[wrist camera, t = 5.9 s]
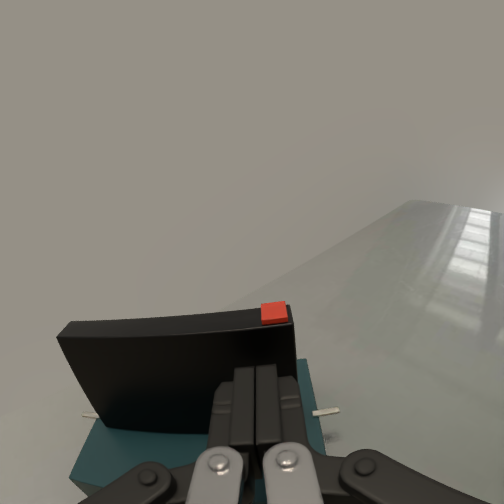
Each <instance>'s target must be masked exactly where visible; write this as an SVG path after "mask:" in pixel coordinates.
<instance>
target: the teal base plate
mask: <svg viewBox="0 0 504 504" xmlns="http://www.w3.org/2000/svg"><path fill="white" fill-rule="evenodd" d="M297 372H298V384H299V387H300V393H301V399H302V406H303V411H304V418H305V424H306V431H307V437H308V442H309V444H310V445H311V447H312V448H313V449H314V450H315V451H317V452H318V453H321V454H323V455H326V452H325V447H324V441H323V436H322V431H321V426H320V421H319V417H320V416H326V415H331V414H337V413H339V408H338V407H334V408H328V409H322V410H317V407H316V402H315V397H314V392H313V387H312V383H311V378H310V373H309V369H308V364H307V360H306V359H298V360H297ZM81 416H82V417H86V418H93V419H96V421H95V423H94V425H93V427H92V429H91V431H90V433H89V435H88V437H87V439H86V442H85V444H84V446H83V448H82V450H81V452H80V454H79V456H78V459H77V461H76V463H75V465H74V467H73V469H72V472H71V474H70V476H69V479H70V480H71V481H72V482H73V483H74V484H75V485H76V486H77V487H79V488H80V489H81V490H82V491H83V492H84V493H85V494H86V495H87V496H88V497H89V496H91V495H92V494H94V493H96V492H97V491H99V490H100V489H102V488H103V487H105V486H107V485H108V484H110V483H111V482H113V481H114V480H116V479H117V478H119V477H120V476H122V475H123V474H125V473H126V472H128V471H129V470H130V469H132V468H133V467H135V466H136V465H138V464H140V463H143V462H147V461H154V462H159V463H161V464H163V465H164V466H166V467H167V468H168V469H170V468H175V467H179V466H184V465H188V464H191V463H193V462H195V461H196V460H197V459H198V457H199V456H200V455H201V454H202V453H203V452H204V451H205V450H206V447H207V440H208V434H194V433H164V432H148V431H136V430H126V429H118V428H110V427H106V426H105V425H104V424H103V422H102V420H101V419H100V417H99V416H98V414H96V413H89V412H83V413H82V415H81ZM262 476H263V479H255V504H267V495H266V487H265V479H264V475H263V471H262Z"/></svg>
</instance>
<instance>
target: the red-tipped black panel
mask: <svg viewBox="0 0 504 504" xmlns="http://www.w3.org/2000/svg"><path fill="white" fill-rule="evenodd" d="M56 338H57V340H58V343H59V345H60V347H61V349H62V351H63V353H64V355H65V357H66V359H67V361H68V363H69V365H70V367H71V369H72V371H73V373H74V375H75V376H76V378H77V380H78V382H79V384H80V386H81V387H82V389H83V391H84V393H85V394H86V396H87V398H88V399H89V401H90V403H91V405H92V406H93V408H94V409H95V411H96V413H97V414H98V416H99V417H100V419H101V420H102V422H103V424H104V425H105V426H106V427H110V428H118V429H126V430H136V431H148V432H164V433H194V434H209V427H210V420H211V414H212V407H213V400H214V394H215V391H216V390H217V388H218V387H219V385H220V384H221V382H230V381H233V380H234V369H235V368H236V367H248V366H255V368H256V366H258V365H268V364H276V368H277V377H284V376H293V378H294V379H295V380H296V381H297V383H298V372H297V358H296V344H295V332H294V322H293V317H292V313H291V308H290V305H286V304H285V301H281V302H273V303H264V304H261V308H255V309H246V310H237V311H227V312H216V313H206V314H194V315H182V316H169V317H155V318H139V319H121V320H101V321H100V320H99V321H98V320H97V321H71V322H69V323H68V325H67V326H66V327H65V328H64V329H63V330H62V331H61V332H60V333H59V334H58V336H57V337H56Z"/></svg>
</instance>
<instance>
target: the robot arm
mask: <svg viewBox="0 0 504 504" xmlns="http://www.w3.org/2000/svg"><path fill="white" fill-rule="evenodd" d="M262 471H263V475H264V479H265V487H266V495H267V504H490V503H488V502H485V501H482V500H480V499H477V498H475V497H472V496H470V495H467V494H465V493H462V492H460V491H458V490H455V489H453V488H451V487H448V486H446V485H444V484H442V483H440V482H437V481H435V480H433V479H431V478H429V477H427V476H425V475H423V474H421V473H419V472H417V471H415V470H413V469H411V468H409V467H407V466H405V465H403V464H401V463H399V462H397V461H395V460H393V459H391V458H389V457H388V456H386V455H384V454H382V453H380V452H378V451H376V450H372V449H362V450H357V451H355V452H352V453H351V454H349V455H348V456H347V457H334V456H326V455H323V454H321V453H318V452H317V451H315V450H314V449H313V448H312V447H311V445H310V444H309V442H308V437H307V431H306V424H305V418H304V411H303V406H302V399H301V393H300V387H299V384H298V383H297V381H296V380H295V379H294V378H293V376H284V377H277V368H276V364H268V365H258V366H256V368H255V366H248V367H236V368H235V369H234V380H233V381H230V382H221V384H220V385H219V387H218V388H217V390H216V391H215V394H214V400H213V407H212V414H211V420H210V427H209V434H208V440H207V447H206V450H205V451H204V452H203V453H202V454H201V455H200V456H199V457H198V459H197V460H196V461H195V462H193V463H191V464H188V465H184V466H179V467H175V468H170V469H168V468H167V467H166V466H164V465H163V464H161V463H159V462H154V461H147V462H143V463H140V464H138V465H136V466H135V467H133V468H132V469H130V470H129V471H128V472H126V473H125V474H123V475H122V476H120V477H119V478H117V479H116V480H114V481H113V482H111V483H110V484H108V485H107V486H105V487H103V488H102V489H100V490H99V491H97V492H96V493H94V494H92V495H91V496H89V497H88V498H86V499H84V500H83V501H81V502H79V503H78V504H255V479H263V476H262Z"/></svg>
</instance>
